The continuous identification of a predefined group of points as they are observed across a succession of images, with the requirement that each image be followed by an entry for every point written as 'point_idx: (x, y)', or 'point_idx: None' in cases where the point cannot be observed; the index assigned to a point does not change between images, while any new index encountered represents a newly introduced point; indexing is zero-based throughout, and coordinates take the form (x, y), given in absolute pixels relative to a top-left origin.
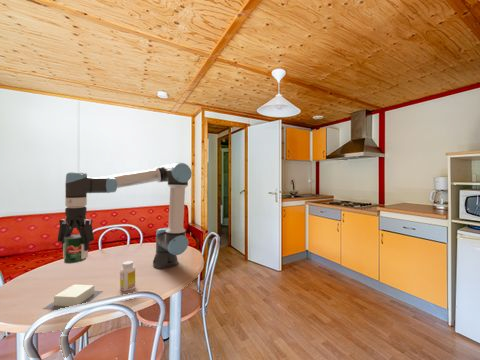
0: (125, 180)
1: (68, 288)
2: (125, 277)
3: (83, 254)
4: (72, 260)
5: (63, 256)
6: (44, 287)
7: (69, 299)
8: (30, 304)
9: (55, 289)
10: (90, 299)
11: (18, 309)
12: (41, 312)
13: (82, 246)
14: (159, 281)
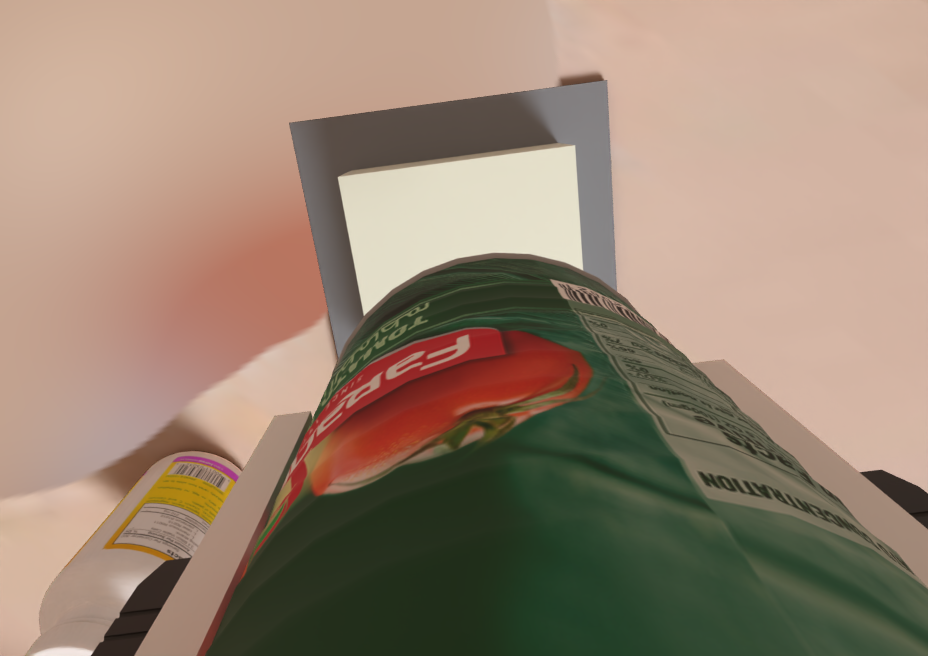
0: None
1: None
2: (109, 526)
3: (247, 478)
4: (397, 299)
5: (735, 377)
6: (921, 360)
7: (410, 165)
8: (788, 124)
9: (794, 355)
10: (335, 284)
11: (818, 40)
12: (576, 48)
13: (173, 627)
14: (37, 630)
